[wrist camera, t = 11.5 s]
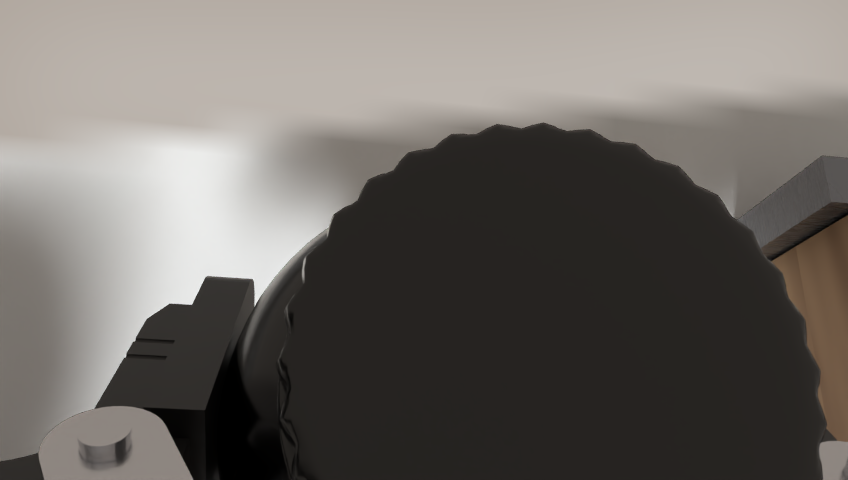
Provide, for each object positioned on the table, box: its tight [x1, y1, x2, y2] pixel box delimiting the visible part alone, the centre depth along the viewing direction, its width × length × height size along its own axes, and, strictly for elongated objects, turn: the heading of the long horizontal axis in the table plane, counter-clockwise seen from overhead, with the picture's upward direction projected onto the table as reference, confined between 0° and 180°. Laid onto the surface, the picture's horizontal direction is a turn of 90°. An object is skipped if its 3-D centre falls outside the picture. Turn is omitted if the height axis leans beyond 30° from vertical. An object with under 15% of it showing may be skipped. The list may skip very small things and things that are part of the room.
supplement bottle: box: [217, 123, 827, 480], centre depth 12 cm, size 7×7×12 cm
